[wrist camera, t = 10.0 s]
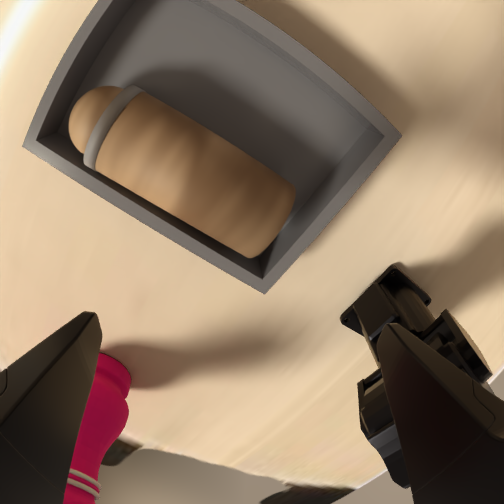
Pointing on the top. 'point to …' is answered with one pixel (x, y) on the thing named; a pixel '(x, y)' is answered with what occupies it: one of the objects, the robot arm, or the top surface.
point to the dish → (221, 114)
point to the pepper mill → (98, 429)
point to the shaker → (181, 167)
